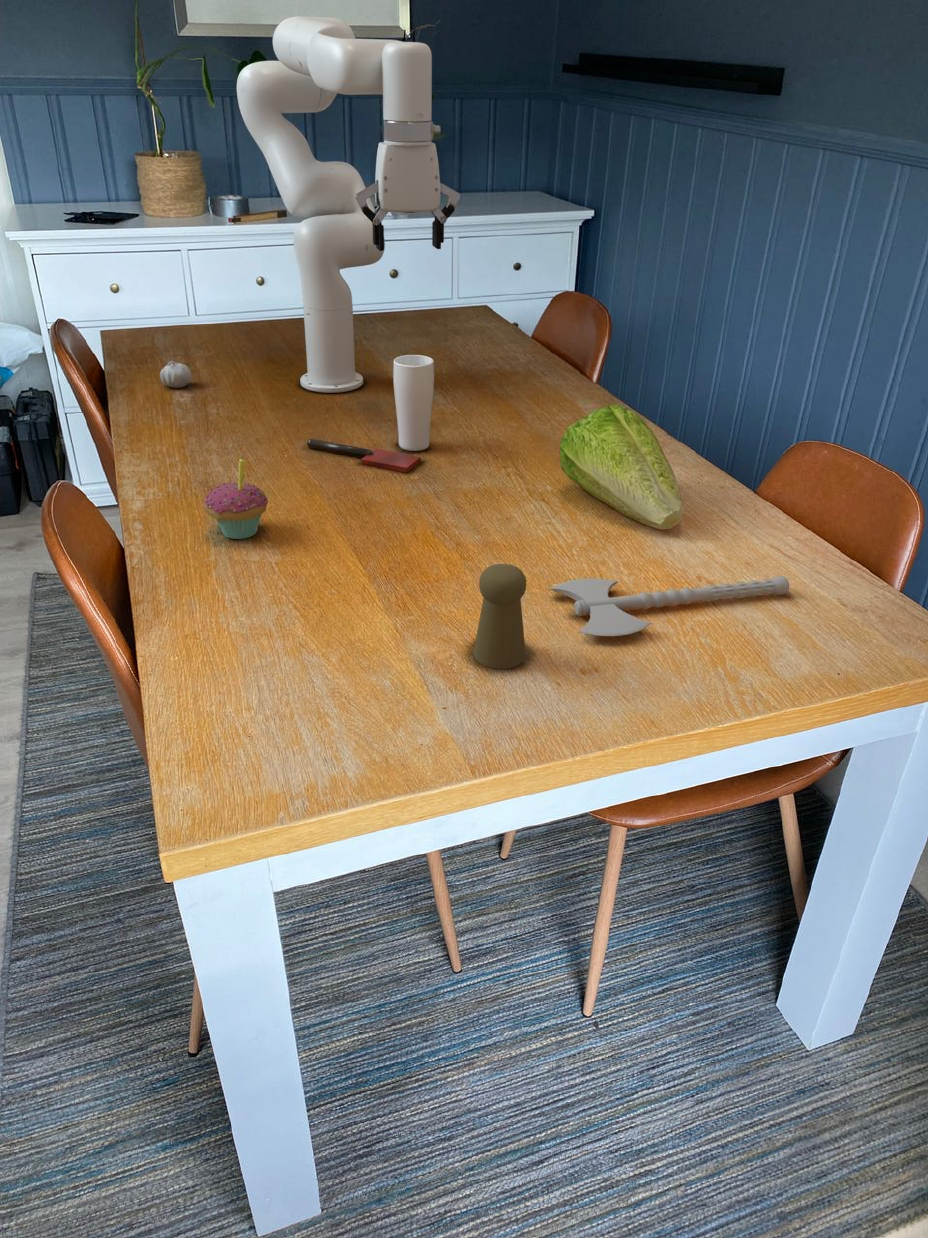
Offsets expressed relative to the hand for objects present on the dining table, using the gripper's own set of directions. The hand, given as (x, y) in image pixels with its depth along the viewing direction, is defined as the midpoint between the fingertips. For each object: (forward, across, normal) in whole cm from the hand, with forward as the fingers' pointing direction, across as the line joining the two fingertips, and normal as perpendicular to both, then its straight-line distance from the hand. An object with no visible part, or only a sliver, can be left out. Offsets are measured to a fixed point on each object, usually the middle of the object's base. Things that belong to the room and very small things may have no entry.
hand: (408, 248), depth 159 cm
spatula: (+30, +12, +14) cm, 36 cm away
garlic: (+31, +40, -31) cm, 59 cm away
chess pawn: (+30, +8, +77) cm, 83 cm away
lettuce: (+30, -23, +43) cm, 57 cm away
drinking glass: (+31, +2, +12) cm, 33 cm away
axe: (+30, -17, +72) cm, 80 cm away
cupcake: (+30, +34, +38) cm, 59 cm away
